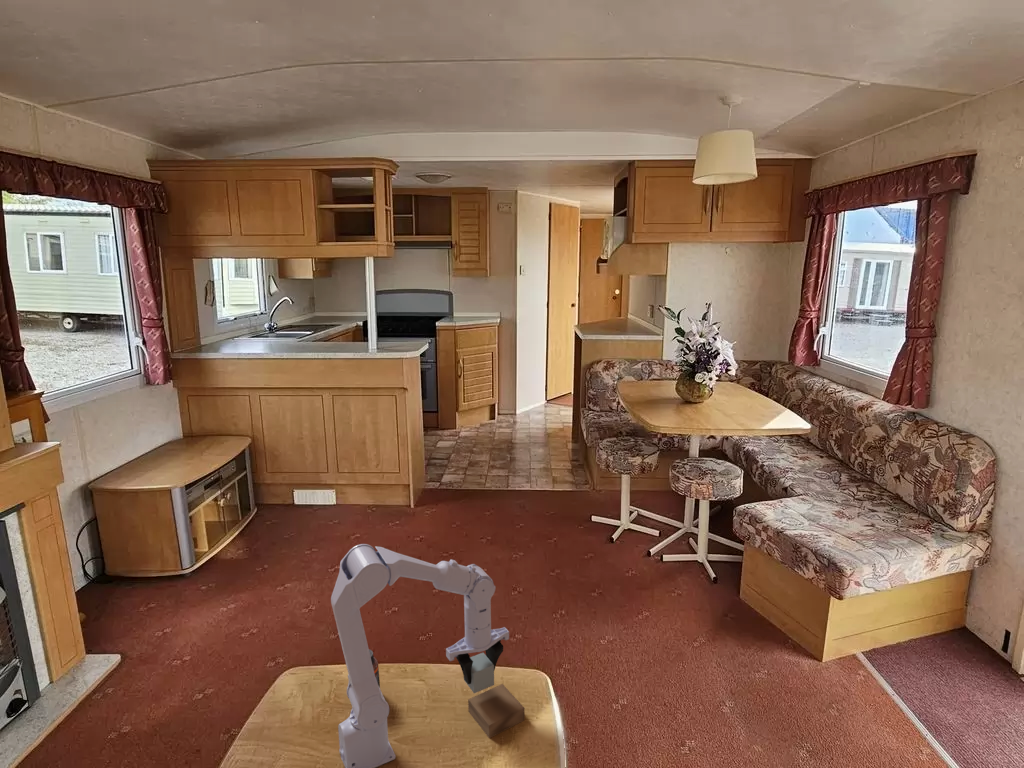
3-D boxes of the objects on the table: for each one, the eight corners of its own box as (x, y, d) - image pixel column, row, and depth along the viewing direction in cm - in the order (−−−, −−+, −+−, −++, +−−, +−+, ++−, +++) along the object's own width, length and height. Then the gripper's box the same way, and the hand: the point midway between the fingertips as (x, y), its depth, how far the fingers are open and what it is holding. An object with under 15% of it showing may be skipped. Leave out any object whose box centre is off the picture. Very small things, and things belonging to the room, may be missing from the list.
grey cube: (474, 693, 127) (473, 673, 126) (463, 679, 131) (463, 659, 130) (494, 685, 129) (493, 665, 128) (483, 671, 133) (483, 652, 132)
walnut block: (489, 739, 124) (488, 725, 123) (468, 713, 131) (468, 699, 130) (524, 721, 129) (524, 707, 128) (502, 696, 136) (502, 683, 135)
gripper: (498, 602, 134) (498, 655, 137) (439, 622, 127) (441, 677, 130) (513, 618, 128) (514, 673, 131) (453, 640, 121) (455, 697, 124)
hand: (479, 676), depth 130 cm, fingers closed on grey cube, 5 cm apart
